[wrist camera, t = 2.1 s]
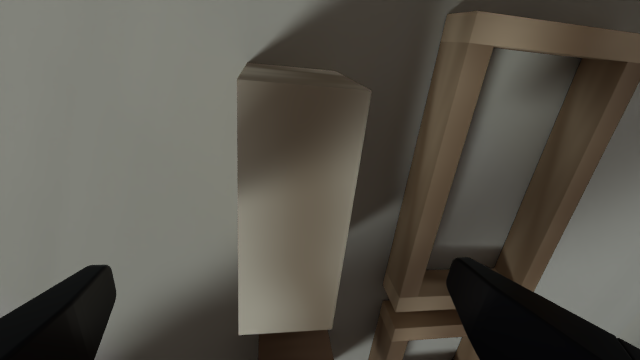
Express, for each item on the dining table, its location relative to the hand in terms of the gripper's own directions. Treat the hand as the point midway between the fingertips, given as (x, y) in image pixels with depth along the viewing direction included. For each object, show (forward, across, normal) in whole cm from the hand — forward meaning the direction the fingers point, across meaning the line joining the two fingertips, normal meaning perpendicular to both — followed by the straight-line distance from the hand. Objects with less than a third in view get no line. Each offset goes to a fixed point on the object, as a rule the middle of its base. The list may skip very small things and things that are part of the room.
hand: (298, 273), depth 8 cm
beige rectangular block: (+7, 0, 0) cm, 7 cm away
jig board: (+7, -10, +5) cm, 13 cm away
